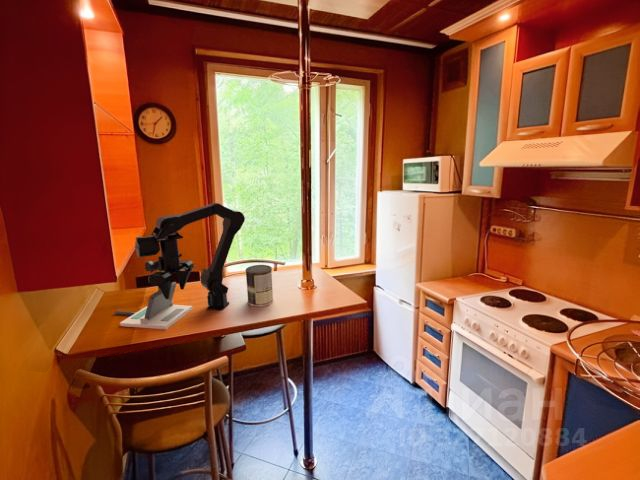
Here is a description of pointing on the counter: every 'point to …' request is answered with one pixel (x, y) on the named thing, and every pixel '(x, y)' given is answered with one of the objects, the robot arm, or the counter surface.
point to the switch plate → (155, 317)
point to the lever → (158, 302)
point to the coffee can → (259, 285)
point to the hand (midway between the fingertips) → (175, 293)
